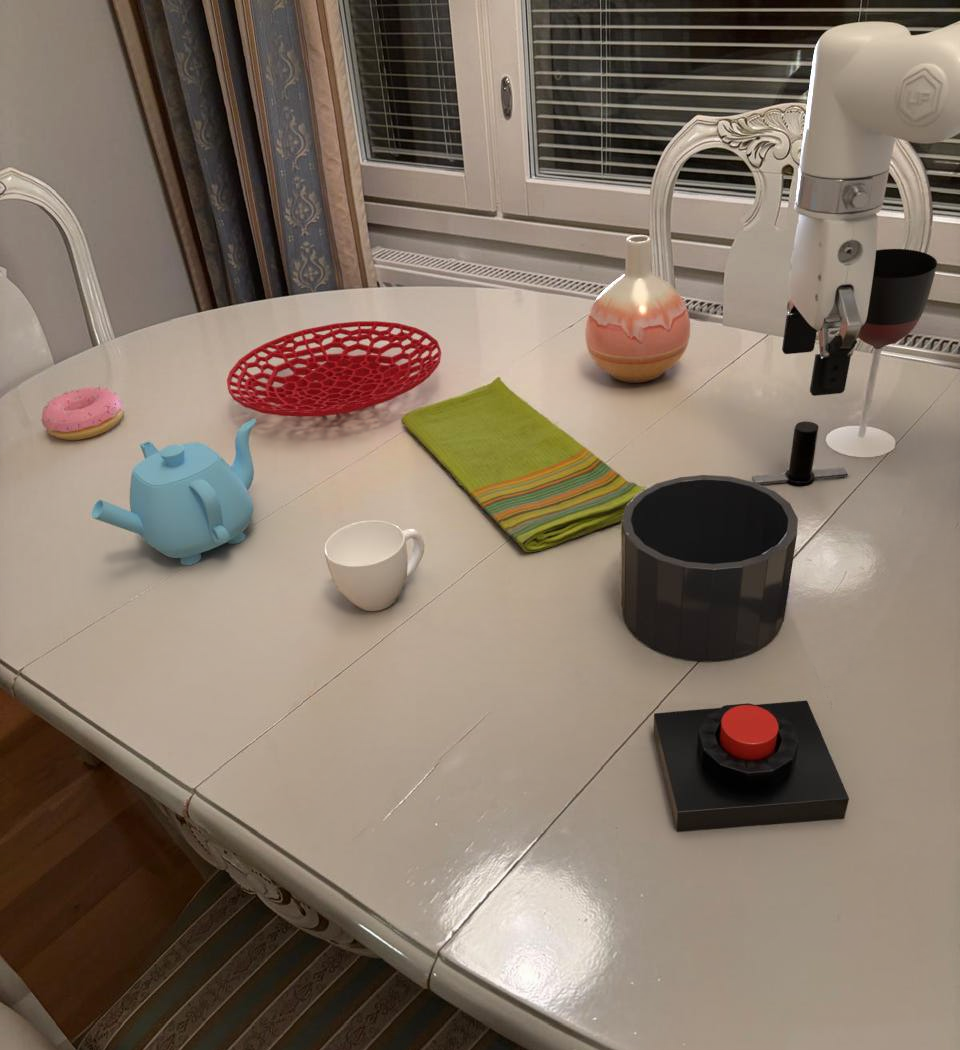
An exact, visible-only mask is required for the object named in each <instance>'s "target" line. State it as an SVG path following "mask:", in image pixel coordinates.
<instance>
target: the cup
mask: <svg viewBox="0 0 960 1050" xmlns="http://www.w3.org/2000/svg"><path fill="white" fill-rule="evenodd" d="M411 539H412V540H413V544H414V545H413V550H412V553H411V555H410V558H409V554H408V547H407V541H409V540H411ZM424 552H425V541H424V539H423V536H422V535H421V533H420V532H419V531H417V530H416V529H414V528H406V529H403V530H402V528H400V527H399V526H398V525H396V524H394V523H392V522H389V521H385V520H377V519H376V520H375V519H374V520H371V519H369V520H362V521H357V522H353V523H350V524H347V525H345V526H343V527H341V528H339V529H337V530H335V532H333V533H332V534H331V535H330V536H329V537H328V538H327V540H326V541H325V543H324V545H323V553H324V556H325V560H326V565H327V567H328V571H329V573H330V576H331V578H332V581H333V582H334V584H335V586H336V587H337V588H338V590H339V591H340V593H341V594H342V595H343V596H344V598H346V599H347V600H348V601H349V602H351V604H354V606H356V607H357V608H359V609H361V610H362V611H366V612H378V611H382V610H385V609H387V608H389V607H390V606H392V605H393V604H394V603H395V602H396V600H398V597H399V596H400V594H401V592H402V590H403V588H404V585H405V582H406V579H408V578H409V577H410V576H411V575H412V574H413V573H414V571H415V570H416V569H417V568H418V566H419V564H420V562H421V560H422V559H423V555H424Z"/></svg>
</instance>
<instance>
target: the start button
mask: <svg viewBox="0 0 960 1050" xmlns="http://www.w3.org/2000/svg"><path fill="white" fill-rule="evenodd" d="M778 728H779V727H778V722H777V720H776V718H775V717H774V716H773V715H772V714H771V713H770V712H768V711H767V710H765V709H763V708H761V707H758V706H753V705H740V706H736V707H733V708H731V709H729V710H728V711H727V712H726V713H725V714H724V715H723V717H722V720H721V729H720V742H721V745H722V746H723V748H724V749H725V750H726V751H727V752H728V753H729V754H731V755H732V756H734V757H738V758H741V759H744V760H758V759H762V758H765V757H767V756H768V755H770V754H771V753H772V752H773V751H774V749H775V746H776V741H777V735H778Z"/></svg>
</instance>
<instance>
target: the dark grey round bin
mask: <svg viewBox="0 0 960 1050" xmlns="http://www.w3.org/2000/svg"><path fill="white" fill-rule="evenodd" d="M644 489H645V490H644V491H642V492H640V493H638V494H637V495H636V496H635V497H634V498H633V499H632V500H631V501H630V502H629V503H628V504H627V505H626V508H625V511H624V514H623V517H622V521H621V532H620V533H621V538H620V539H621V540H620V541H621V542H620V543H621V546H620V547H621V549H620V550H621V552H620V554H621V555H620V557H621V559H620V561H621V562H620V564H621V566H620V568H621V569H620V570H621V571H620V574H621V575H620V577H621V579H620V583H621V584H620V589H621V590H620V591H621V593H620V603H621V604H620V606H621V611H622V612H621V613H622V619H623V621H624V624H625V626H626V627H627V629H628V630H629V632H630V633H631V634H632V635H633V636H634V637H635V638H636V640H638V641H639V642H641V643H642V644H644V646H646V647H648V648H650V649H651V650H653V651H655V652H658V653H660V654H663V655H665V656H668V657H672V658H674V659H679V660H684V661H690V662H698V663H699V662H700V663H701V662H702V663H713V662H717V663H718V662H725V661H726V662H727V661H731V660H737V659H740V658H743V657H747V656H749V655H752V654H754V653H757V652H759V651H761V650H762V649H764V648H765V647H766V646H768V645H769V644H770V643H772V642H773V641H774V639H775V638H776V637H777V636H778V635H779V633H780V631H781V629H782V627H783V624H784V622H785V616H786V611H787V604H788V603H787V602H788V597H789V592H790V591H789V589H790V583H791V576H792V572H793V571H792V570H793V564H794V557H795V551H796V545H797V544H796V543H797V538H798V537H797V536H798V525H799V517H798V516H797V514H796V512H795V510H794V509H793V506H792V505H791V502H789V501H787V500H786V498H784V497H782V495H780V494H779V493H778V492H777V491H775V490H773V489H771V488H768V487H766V486H764V485H763V484H757V483H755V482H754V481H751V480H747V479H743V478H738V477H734V476H729V475H728V476H727V475H715V474H714V475H713V474H699V475H690V476H689V475H688V476H680V477H675V478H671V479H668V480H664V481H661V482H657V483H655V484H653V485H651V486H649V487H647V488H644Z"/></svg>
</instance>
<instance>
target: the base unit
mask: <svg viewBox="0 0 960 1050" xmlns="http://www.w3.org/2000/svg"><path fill="white" fill-rule="evenodd" d="M740 705H753V706H758V707H761V708H763V709H765V710H767V711H768V712H770V713H771V714H772V715H773V716H774V717H775V718H776V720H777V722H778V727H779V728H778V735H777V741H776V746H775V749H774V751H773V752H772V753H771V754H770V755H768V756H767V757H765V758H762V759H758V760H744V759H741V758H738V757H734V756H732V755H731V754H729V753H728V752H727V751H726V750H725V749H724V748H723V746H722V745H721V742H720V729H721V720H722V717H723V715H724V714H725V713H726V712H727V711H728V710H729V709H731V708H733V707H736V706H740ZM818 725H819V724H818V722H817V720H816V718H815V716H814V714H813V711H812V709H811V706H810V704H809V702H808V700H795V701H784V702H773V703H772V702H771V703H762V704H761V703H760V704H754V703H737V704H726V705H723V706H721V707H714V708H713V707H711V708H700V709H690V710H679V711H678V710H677V711H667V712H665V711H664V712H655V713H653V729H652V731H653V732H652V733H653V736H654V741H655V746H656V749H657V753H658V759H659V763H660V767H661V771H662V775H663V779H664V784H665V788H666V792H667V797H668V799H669V806H670V809H671V814H672V818H673V822H674V826H675V831H676V832H689V831H700V830H714V829H725V828H726V829H727V828H740V827H751V826H752V827H753V826H763V825H765V826H767V825H777V824H778V825H779V824H790V823H802V822H813V821H814V822H815V821H827V820H828V821H829V820H839V819H840V820H841V819H845V817H846V813H847V810H848V805H849V801H850V797H849V795H848V792H847V790H846V788H845V785H844V783H843V781H842V778H841V776H840V774H839V772H838V771H839V770H838V769H837V767H836V764H835V762H834V760H833V758H832V757H833V756H832V755H831V753H830V750H829V748H828V746H827V744H826V742H825V739H824V737H823V735H822V734H823V733H822V732H821V729H820V727H819V726H818Z"/></svg>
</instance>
